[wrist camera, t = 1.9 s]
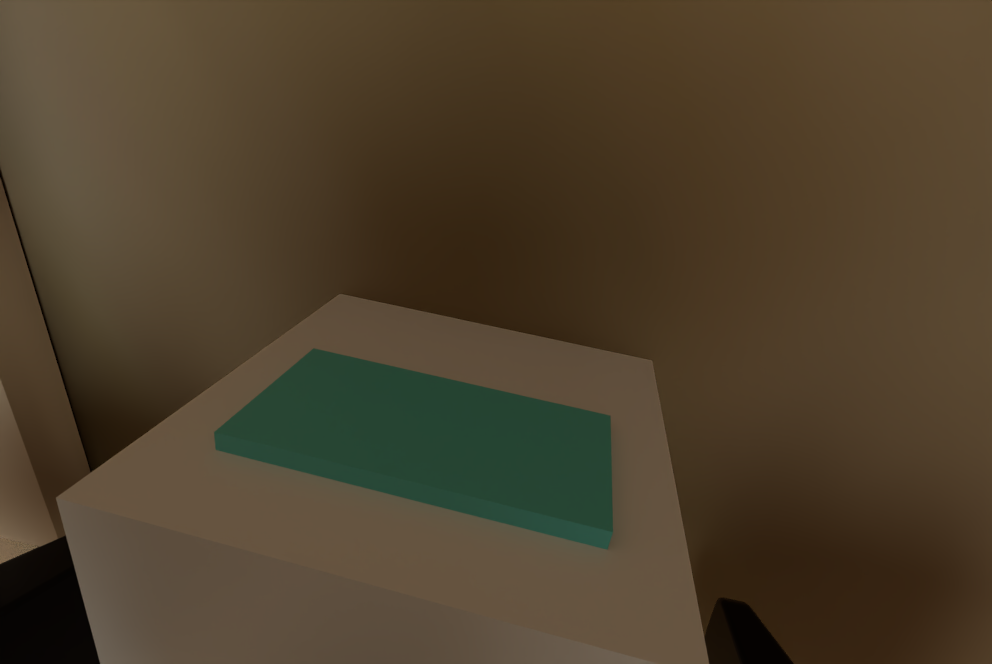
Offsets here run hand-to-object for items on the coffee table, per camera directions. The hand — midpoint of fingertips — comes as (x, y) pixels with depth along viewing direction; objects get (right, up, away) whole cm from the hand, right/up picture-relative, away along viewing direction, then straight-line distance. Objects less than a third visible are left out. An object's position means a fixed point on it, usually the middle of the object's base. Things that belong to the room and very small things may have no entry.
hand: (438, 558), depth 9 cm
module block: (0, 0, +1) cm, 1 cm away
